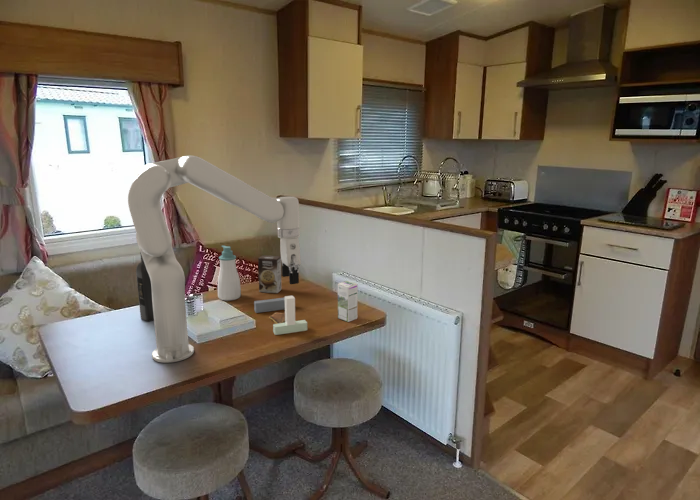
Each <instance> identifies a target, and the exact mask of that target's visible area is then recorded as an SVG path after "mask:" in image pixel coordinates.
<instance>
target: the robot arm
mask: <svg viewBox="0 0 700 500" xmlns="http://www.w3.org/2000/svg"><path fill="white" fill-rule="evenodd" d="M184 184H190V185H192V186H193V187H196V188H198V189H200V190H202V191H204V192H206V193H207V194H209V195H211V196H213V197H215V198H217V199H219V200H221V201H223V202H225V203H227V204H229V205H232V206H236V207H238V208H240V209H242V210H245V211H246V212H248V213H250V214H252V215H254V216H255V217H257V218H258V219H260V220H263V221H264V222H267V223H270V224H273V223H274V224H275V223H277V224H276V226H277V238H279V239H280V245H279V247H280V252H279V253H280V256H281V277H283V278H284V277H289V278H288V279H289V281H288V282H289V284H290V285H298V284H299V283H300V281H299V279H300V275H299V273H300V272H299V266H301V264H302V263H301V262H302V260H301V248H300V240H299V238H300V237H301V235H300V234H301V233H300V232H301V231H300V207H299V205H300V203H299V199H298V197H296V196H290V195H288V196H280V197H271V196H270V195H268V194H266V193H265V192H263V191H261V190H259V189H257V188H255V187H254V186H252V185H250V184H248V183H246V182H245V181H243V180H242V179H241V178H238V177H236V176H234V175H233V174H231V173H229V172H227V171H225V170H223V169H222V168H219V167H218V166H217V165H215V164H212V163H211V162H209V161H208V160H205V159H204V158H202V157H199V156H196V155H188V154H187V155H182V156H179V157H176V158H171V159H165V160H161V161H156V162H150V163H147V164H145V165H143V166H142V167H140V169H139V170H138V173H137V177H136V178H135V179H134V180H133V182H132V183H131V186H130V187H129V191H128V195H127V203H128V209H129V213H130V217H131V219H132V223H133V227H134V230H135V239H136V243H137V246H138V249H139V251H140V252H141V254H140V256H141V255H142V258H143V260H144V263H145V266H146V269H147V272H148V274H149V277H150V280H151V288H152V304H153V313H154V320H153V321H154V322H153V323H154V331H155V344H156V348H155V349H154V350H153V351H152V352H151V358H152V360H154V361H155V362H158V363H165V364H167V363H169V364H171V363H176V362H177V363H178V362H181V361H183V360H186V359H188V358H190V357H192V355H193V354H194V352H195V347H194V345H192V344H190V343H189V334H188V333H189V332H188V331H189V330H188V321H187V308H186V306H187V305H186V296H185V295H186V290H185V288H186V287H185V285H186V278H185V272H184V269H183V267H182V265H181V264H180V263H179V261H178V260H177V258H176V257H177V256H176V255H175V252H174V248H173V246H172V244H173V240H172V239H173V238H172V236H171V232H170V231H169V229H168V226H167V222H166V220H165V217H164V212H163V209H162V205H161V199H162V196H163V195H164V194H165V192H167V191H168V190H169V188H172V187H173V188H174V187H177V186H181V185H184ZM140 252H139V253H140Z"/></svg>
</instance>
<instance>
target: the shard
mask: <svg viewBox="0 0 700 500" xmlns="http://www.w3.org/2000/svg"><path fill="white" fill-rule="evenodd" d="M268 319H269V320H271V321H273V324H279V323H285V312H274V313H273V314H272V315H269V316H268Z"/></svg>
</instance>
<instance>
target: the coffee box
mask: <svg viewBox="0 0 700 500" xmlns="http://www.w3.org/2000/svg"><path fill="white" fill-rule="evenodd" d="M257 260H258V262H257V263H258V264H257V265H258V292H259V293H269V294H278V293H279V292H280V291H281V290H282V260H281V255H280V256H278V255H276V256H275V255H263V254H262V255H261V256H259V257H258V258H257Z"/></svg>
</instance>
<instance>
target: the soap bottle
mask: <svg viewBox="0 0 700 500" xmlns="http://www.w3.org/2000/svg"><path fill="white" fill-rule="evenodd" d="M221 247H222V248H223V251H222V250H221V255H220V256H218V259H219V272H218V277H217V298H218V299H219V300H222V301H235V300H237V299H240V298H241V295H242V293H241V292H242V291H241V288H242V287H241V281H240V276H239V273H238V268H237V265H236V259H237V256H236V255H234V254H233V253H234V252H233V250H232V249H231V246H229V245H228V246H226V245H221Z"/></svg>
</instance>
